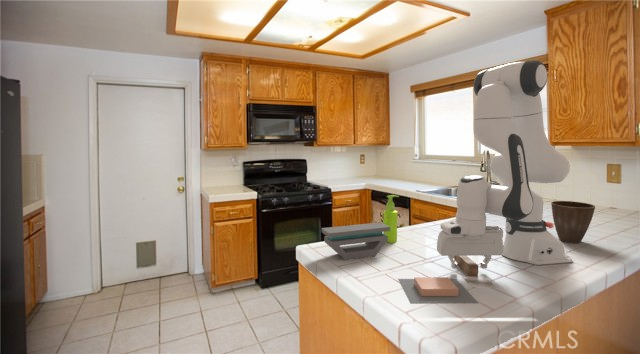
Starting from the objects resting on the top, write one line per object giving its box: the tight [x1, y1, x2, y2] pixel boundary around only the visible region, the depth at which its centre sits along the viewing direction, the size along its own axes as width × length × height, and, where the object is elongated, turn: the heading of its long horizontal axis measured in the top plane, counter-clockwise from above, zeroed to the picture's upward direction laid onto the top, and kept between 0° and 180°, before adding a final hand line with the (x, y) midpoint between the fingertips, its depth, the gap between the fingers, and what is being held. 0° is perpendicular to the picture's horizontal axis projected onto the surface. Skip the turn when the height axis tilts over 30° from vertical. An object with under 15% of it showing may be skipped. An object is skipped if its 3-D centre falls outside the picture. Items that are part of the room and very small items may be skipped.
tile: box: [413, 276, 458, 296], centre depth 97 cm, size 10×2×8 cm
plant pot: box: [551, 200, 596, 244], centre depth 144 cm, size 15×15×16 cm
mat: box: [397, 278, 479, 305], centre depth 97 cm, size 18×16×1 cm
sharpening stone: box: [321, 221, 390, 261], centre depth 129 cm, size 25×8×11 cm, turn 109°
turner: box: [453, 256, 498, 289], centre depth 109 cm, size 21×7×4 cm, turn 179°
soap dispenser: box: [382, 194, 400, 244], centre depth 147 cm, size 6×7×20 cm
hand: (469, 267), depth 110 cm, fingers open, 8 cm apart
